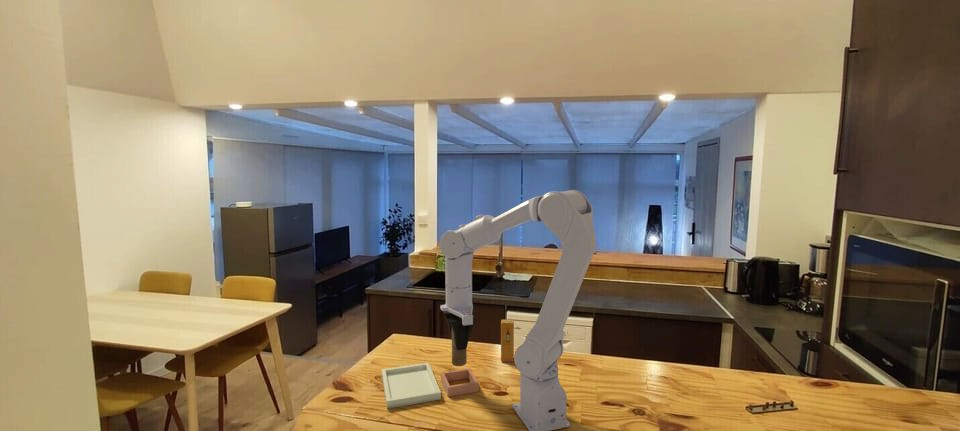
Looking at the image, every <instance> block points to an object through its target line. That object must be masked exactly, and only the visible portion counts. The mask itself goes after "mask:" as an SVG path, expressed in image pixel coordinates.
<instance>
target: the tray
mask: <svg viewBox="0 0 960 431" xmlns="http://www.w3.org/2000/svg"><path fill="white" fill-rule="evenodd" d="M381 380H382V384H383V391H384V398H385V404H386V409H387V410H389V409H395V408H400V407H401V408H402V407H405V406H411V405H416V404H418V405H419V404H422V403H429V402H435V401H441V400H442V392H441V388H440V387H439V384H438V383H437V380H436V377H435V375H434V373H433V370H432V368H431V365H430V363H429V362H424V363H415V364H410V365H403V366H396V367H390V368H382V369H381Z"/></svg>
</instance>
